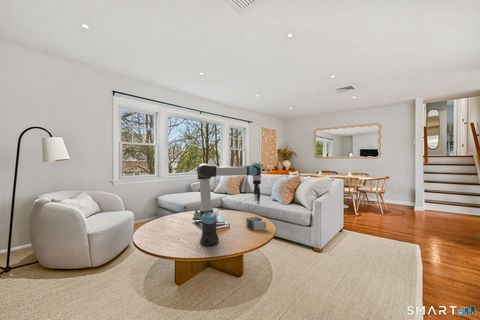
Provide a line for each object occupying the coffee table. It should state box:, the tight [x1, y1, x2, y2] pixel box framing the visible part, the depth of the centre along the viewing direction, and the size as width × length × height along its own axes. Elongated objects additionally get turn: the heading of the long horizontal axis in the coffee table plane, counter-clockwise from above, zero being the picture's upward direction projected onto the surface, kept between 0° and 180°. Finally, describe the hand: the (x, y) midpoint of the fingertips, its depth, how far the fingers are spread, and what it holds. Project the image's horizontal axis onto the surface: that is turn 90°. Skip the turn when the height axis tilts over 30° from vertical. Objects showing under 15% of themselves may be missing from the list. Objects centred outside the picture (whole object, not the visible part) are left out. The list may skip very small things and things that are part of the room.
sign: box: [192, 209, 200, 221], centre depth 224 cm, size 22×3×20 cm, turn 94°
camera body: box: [245, 215, 263, 231], centre depth 205 cm, size 14×9×10 cm, turn 127°
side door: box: [252, 220, 267, 232], centre depth 198 cm, size 12×2×8 cm, turn 92°
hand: (256, 202), depth 198 cm, fingers open, 11 cm apart
